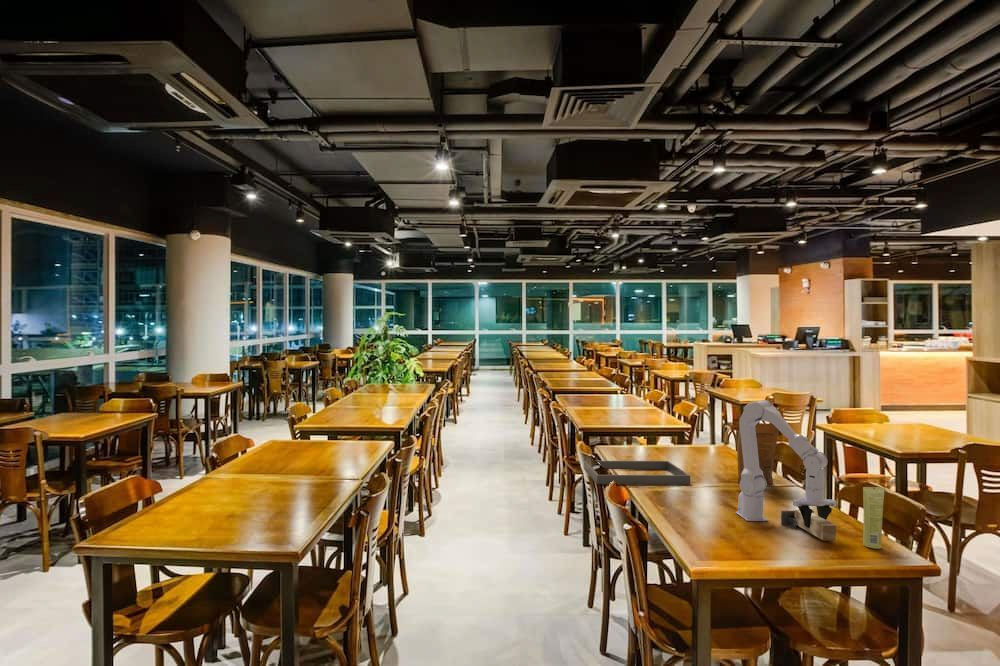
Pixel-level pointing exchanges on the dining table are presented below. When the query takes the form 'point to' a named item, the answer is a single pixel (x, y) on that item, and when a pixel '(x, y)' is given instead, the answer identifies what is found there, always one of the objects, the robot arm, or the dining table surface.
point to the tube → (873, 516)
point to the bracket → (789, 518)
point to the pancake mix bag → (761, 450)
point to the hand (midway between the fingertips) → (813, 526)
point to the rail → (817, 526)
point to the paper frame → (677, 478)
